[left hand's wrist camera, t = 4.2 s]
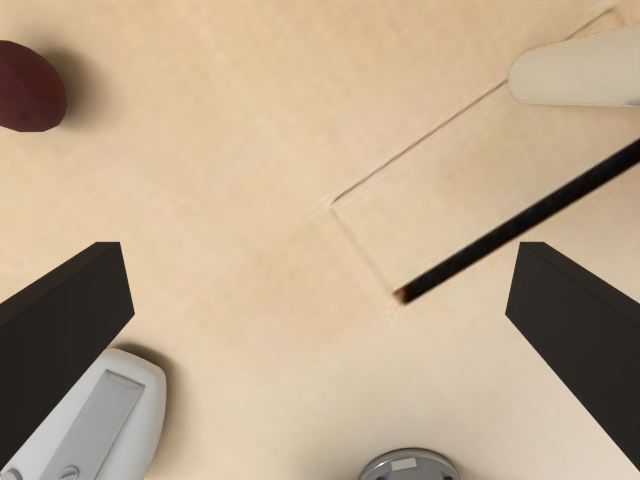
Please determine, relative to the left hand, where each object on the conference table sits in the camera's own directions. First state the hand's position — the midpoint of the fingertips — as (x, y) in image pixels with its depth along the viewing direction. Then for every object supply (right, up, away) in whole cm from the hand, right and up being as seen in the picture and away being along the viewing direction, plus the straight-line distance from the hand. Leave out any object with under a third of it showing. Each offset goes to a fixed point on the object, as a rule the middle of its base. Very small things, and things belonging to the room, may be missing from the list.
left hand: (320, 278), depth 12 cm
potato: (-27, +16, +24) cm, 39 cm away
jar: (+21, +17, +23) cm, 36 cm away
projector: (-29, -22, +38) cm, 53 cm away
